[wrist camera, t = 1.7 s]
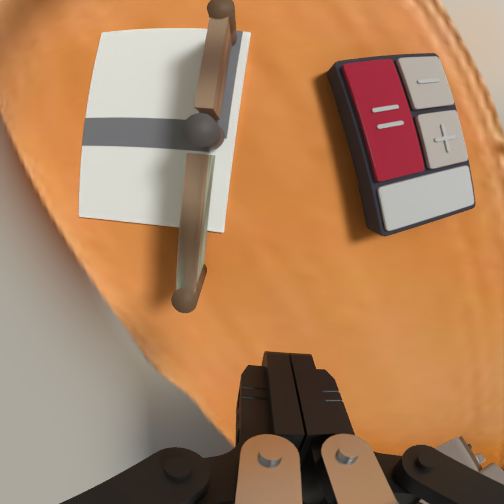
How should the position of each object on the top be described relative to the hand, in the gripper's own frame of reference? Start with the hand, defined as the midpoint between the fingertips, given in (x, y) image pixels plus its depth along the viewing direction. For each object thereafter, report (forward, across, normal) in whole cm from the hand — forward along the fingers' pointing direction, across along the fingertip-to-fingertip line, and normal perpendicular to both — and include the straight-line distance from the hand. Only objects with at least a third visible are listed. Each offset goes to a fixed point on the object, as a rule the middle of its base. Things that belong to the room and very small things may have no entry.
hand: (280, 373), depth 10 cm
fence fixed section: (+18, +5, -12) cm, 23 cm away
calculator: (+19, -12, -11) cm, 25 cm away
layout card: (+18, +10, -9) cm, 23 cm away
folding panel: (+18, +5, -1) cm, 18 cm away
